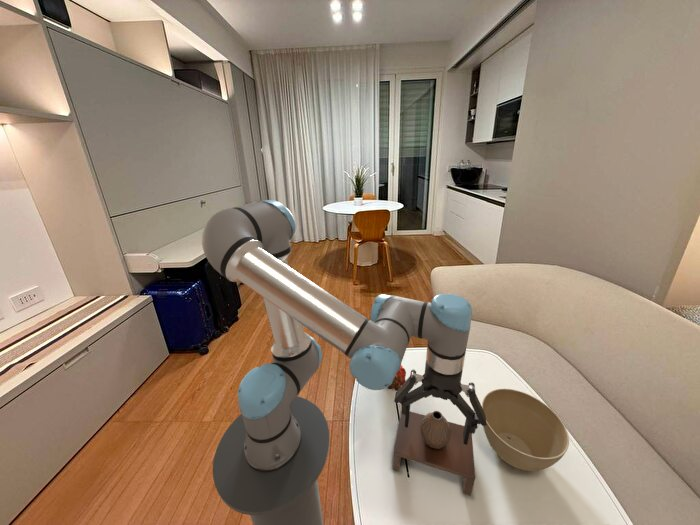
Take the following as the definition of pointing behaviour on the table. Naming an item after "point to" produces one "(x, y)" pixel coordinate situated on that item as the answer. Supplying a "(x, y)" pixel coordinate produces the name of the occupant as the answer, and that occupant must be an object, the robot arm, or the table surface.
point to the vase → (435, 430)
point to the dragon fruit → (398, 379)
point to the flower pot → (523, 430)
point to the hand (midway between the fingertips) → (435, 430)
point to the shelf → (435, 450)
